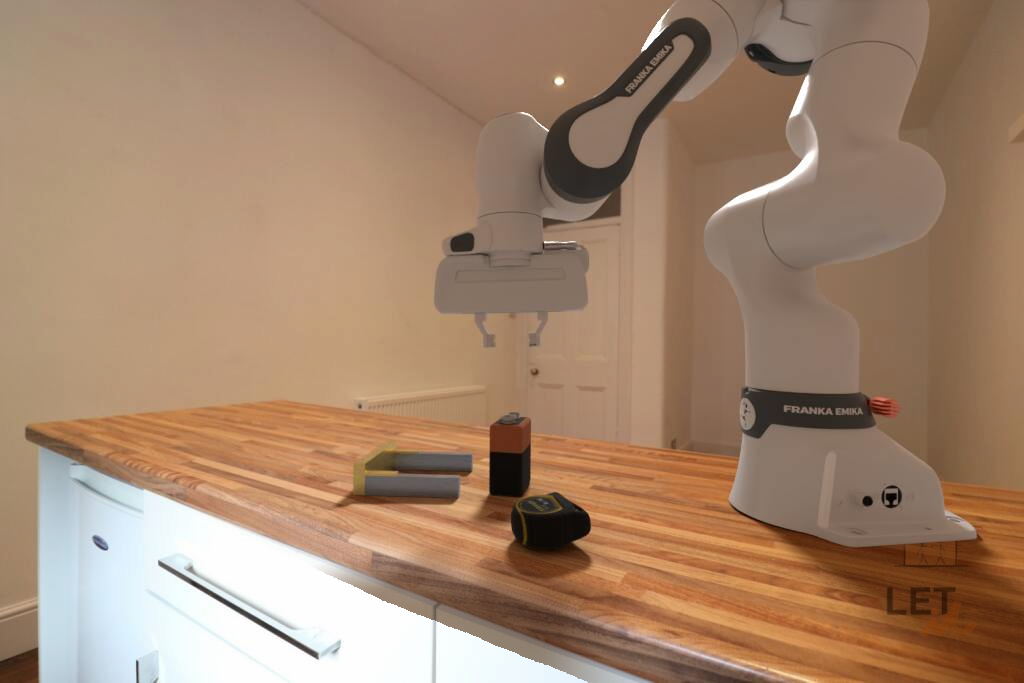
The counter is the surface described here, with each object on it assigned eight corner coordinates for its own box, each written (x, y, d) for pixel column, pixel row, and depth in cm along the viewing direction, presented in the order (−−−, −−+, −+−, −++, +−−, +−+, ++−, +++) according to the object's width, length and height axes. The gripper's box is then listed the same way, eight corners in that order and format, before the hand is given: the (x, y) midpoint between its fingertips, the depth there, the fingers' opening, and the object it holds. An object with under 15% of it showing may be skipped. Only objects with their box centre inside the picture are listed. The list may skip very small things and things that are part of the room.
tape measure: (596, 546, 41) (592, 505, 41) (527, 565, 39) (522, 522, 39) (565, 521, 48) (561, 486, 48) (504, 536, 46) (500, 499, 46)
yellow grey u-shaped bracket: (472, 469, 68) (473, 443, 68) (458, 498, 56) (458, 466, 56) (386, 466, 69) (386, 441, 69) (353, 494, 57) (353, 463, 57)
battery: (488, 495, 57) (488, 417, 57) (501, 479, 64) (501, 409, 64) (521, 498, 56) (522, 419, 56) (531, 481, 63) (531, 410, 63)
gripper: (586, 245, 62) (587, 345, 62) (440, 250, 63) (442, 347, 63) (591, 235, 56) (593, 346, 56) (429, 240, 57) (432, 349, 57)
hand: (512, 347), depth 60 cm, fingers open, 5 cm apart
